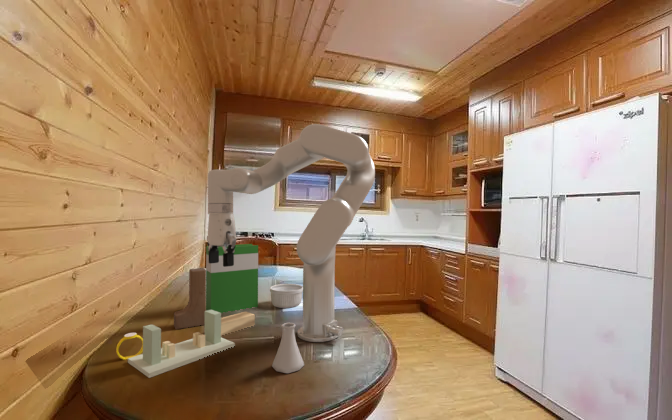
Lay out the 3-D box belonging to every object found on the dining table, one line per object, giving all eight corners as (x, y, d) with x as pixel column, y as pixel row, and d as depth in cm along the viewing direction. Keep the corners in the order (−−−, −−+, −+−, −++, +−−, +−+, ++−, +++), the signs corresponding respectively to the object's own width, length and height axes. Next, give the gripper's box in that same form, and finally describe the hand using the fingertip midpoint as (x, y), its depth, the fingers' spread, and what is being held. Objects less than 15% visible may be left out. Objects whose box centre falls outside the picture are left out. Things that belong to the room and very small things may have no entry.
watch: (117, 363, 81) (115, 339, 80) (116, 360, 83) (114, 336, 82) (145, 355, 84) (144, 332, 84) (144, 352, 86) (142, 329, 86)
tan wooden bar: (254, 326, 107) (254, 314, 107) (220, 337, 98) (220, 323, 98) (245, 323, 110) (245, 311, 110) (212, 333, 101) (212, 320, 101)
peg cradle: (234, 346, 90) (234, 313, 90) (149, 377, 73) (149, 337, 73) (210, 336, 98) (210, 305, 98) (127, 362, 80) (128, 325, 81)
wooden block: (175, 330, 103) (175, 272, 103) (173, 325, 107) (174, 270, 107) (205, 325, 108) (206, 269, 108) (203, 321, 111) (203, 267, 112)
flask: (289, 357, 84) (289, 317, 84) (309, 365, 79) (309, 324, 79) (266, 367, 78) (266, 325, 78) (287, 377, 74) (287, 332, 74)
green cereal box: (251, 302, 135) (251, 243, 135) (257, 307, 129) (258, 245, 129) (205, 309, 125) (206, 246, 125) (210, 314, 119) (211, 247, 119)
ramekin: (309, 303, 135) (309, 286, 135) (288, 311, 123) (288, 292, 123) (284, 298, 142) (284, 282, 142) (262, 305, 130) (262, 288, 131)
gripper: (245, 209, 100) (246, 266, 100) (219, 210, 112) (219, 260, 112) (222, 209, 94) (222, 269, 94) (197, 210, 107) (197, 263, 106)
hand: (220, 264), depth 103 cm, fingers open, 9 cm apart
